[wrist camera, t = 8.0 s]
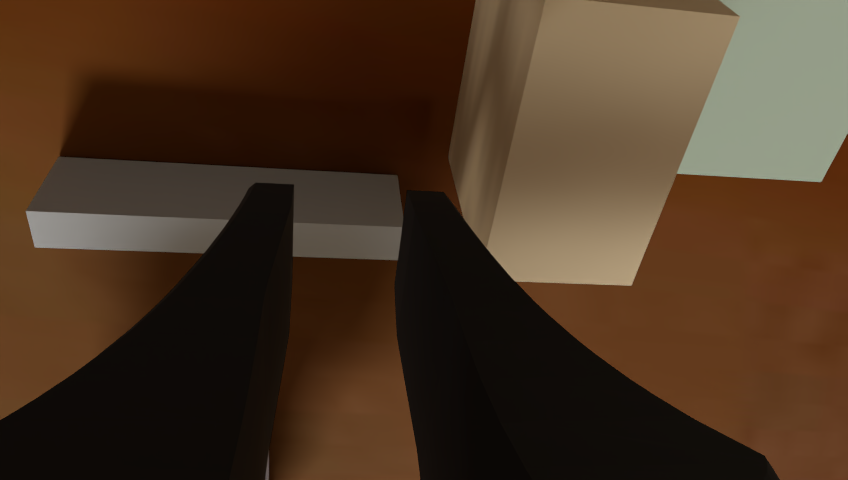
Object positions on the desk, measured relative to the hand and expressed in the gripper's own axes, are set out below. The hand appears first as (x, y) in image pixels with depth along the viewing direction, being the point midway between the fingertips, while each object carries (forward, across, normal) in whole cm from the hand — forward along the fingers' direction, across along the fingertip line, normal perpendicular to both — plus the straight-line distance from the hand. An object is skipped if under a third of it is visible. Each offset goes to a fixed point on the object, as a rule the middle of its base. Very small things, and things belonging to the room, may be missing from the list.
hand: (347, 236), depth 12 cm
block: (+10, -6, 0) cm, 11 cm away
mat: (+9, -13, -1) cm, 16 cm away
